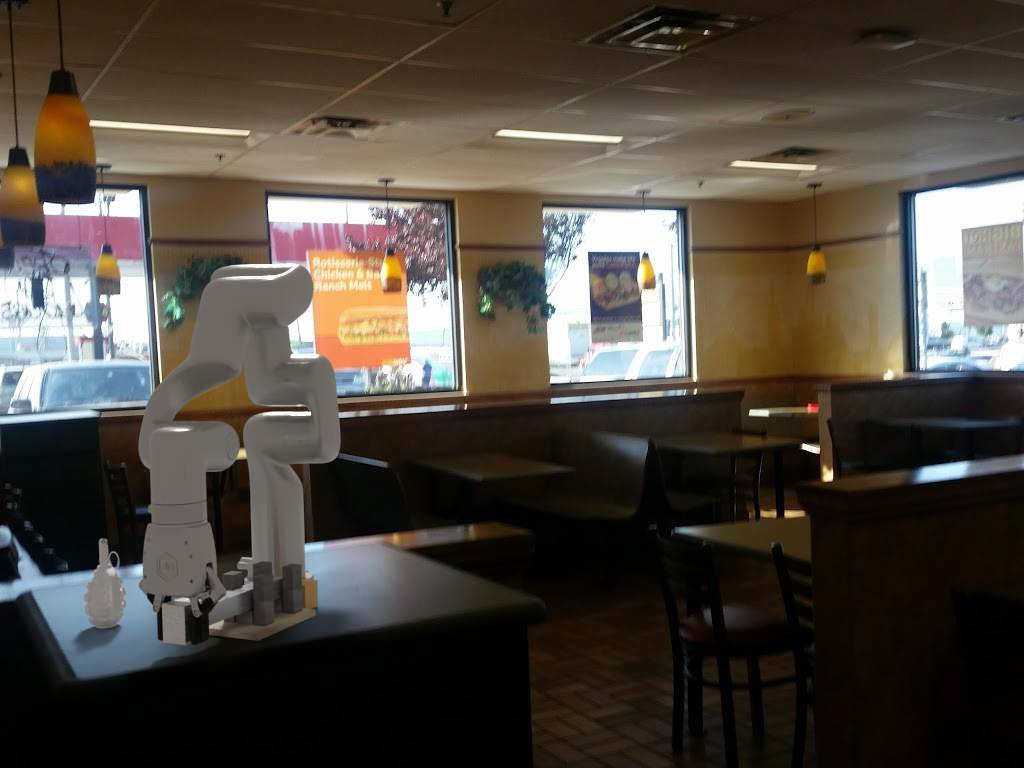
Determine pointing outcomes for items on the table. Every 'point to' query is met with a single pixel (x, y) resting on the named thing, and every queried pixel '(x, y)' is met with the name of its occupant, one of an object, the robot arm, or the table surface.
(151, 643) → the table surface
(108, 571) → the hand grenade
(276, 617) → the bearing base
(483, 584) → the table surface
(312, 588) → the block
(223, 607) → the block ended bar
